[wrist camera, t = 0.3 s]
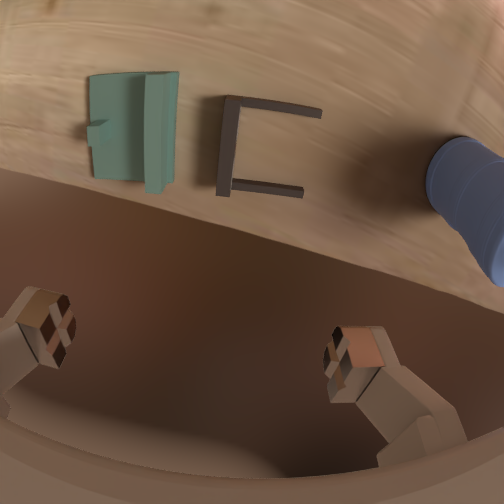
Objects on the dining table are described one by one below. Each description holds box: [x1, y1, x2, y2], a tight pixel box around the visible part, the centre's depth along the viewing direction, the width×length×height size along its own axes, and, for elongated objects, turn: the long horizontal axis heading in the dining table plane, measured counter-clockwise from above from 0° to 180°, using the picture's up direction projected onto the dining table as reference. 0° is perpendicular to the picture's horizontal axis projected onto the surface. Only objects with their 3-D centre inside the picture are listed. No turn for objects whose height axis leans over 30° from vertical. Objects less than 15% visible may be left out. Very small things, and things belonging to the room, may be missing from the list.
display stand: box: [87, 72, 179, 194], centre depth 37 cm, size 17×14×5 cm
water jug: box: [426, 137, 504, 287], centre depth 32 cm, size 16×16×28 cm
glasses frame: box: [216, 95, 322, 198], centre depth 40 cm, size 14×13×4 cm
